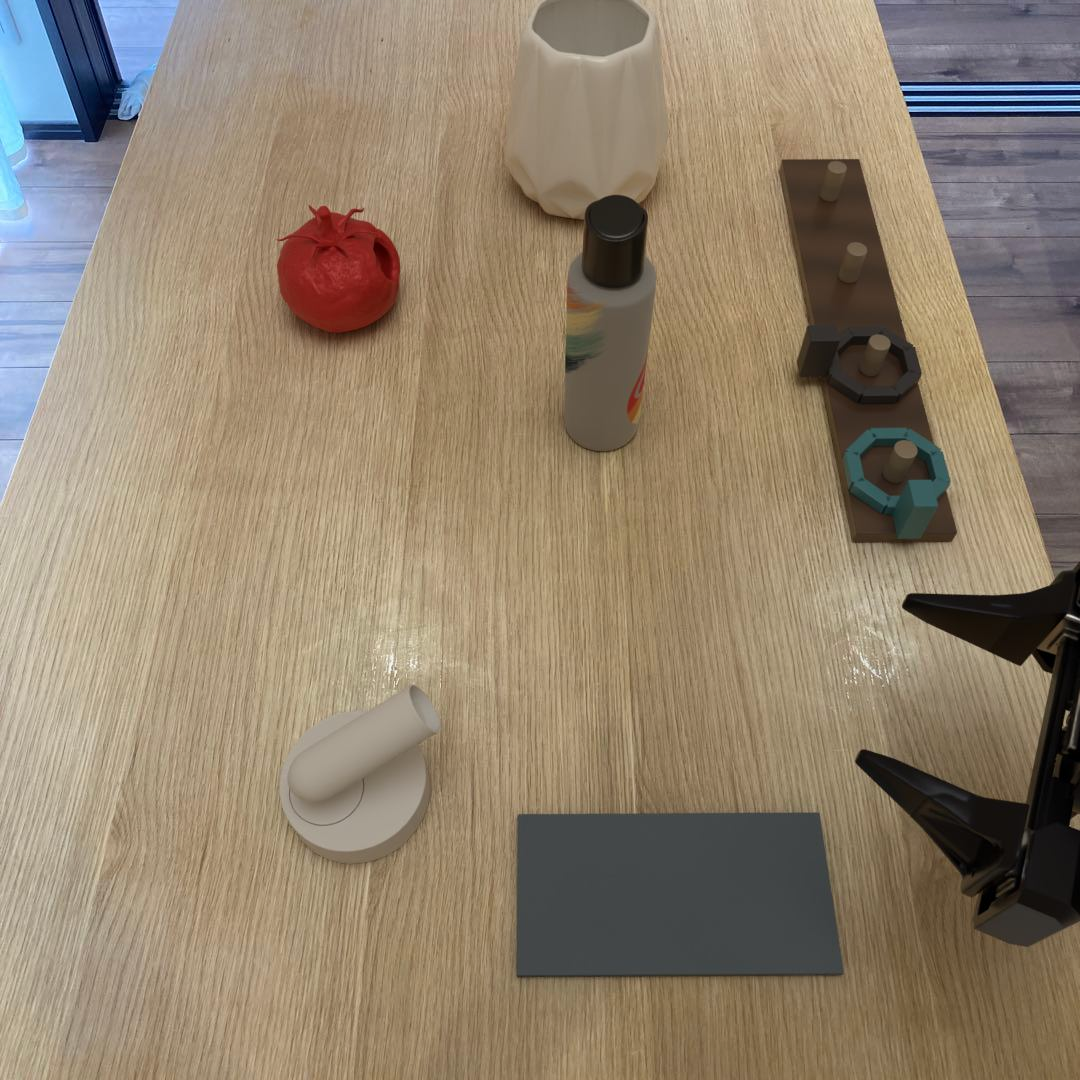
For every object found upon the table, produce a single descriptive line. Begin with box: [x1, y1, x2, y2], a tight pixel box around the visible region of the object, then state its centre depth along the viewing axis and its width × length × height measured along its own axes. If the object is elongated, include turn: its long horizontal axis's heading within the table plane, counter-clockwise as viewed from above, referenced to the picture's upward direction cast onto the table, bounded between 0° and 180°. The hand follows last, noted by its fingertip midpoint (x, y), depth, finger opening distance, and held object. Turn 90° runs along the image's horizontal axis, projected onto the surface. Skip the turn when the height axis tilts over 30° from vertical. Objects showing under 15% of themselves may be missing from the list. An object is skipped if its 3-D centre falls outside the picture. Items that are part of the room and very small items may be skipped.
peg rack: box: [779, 158, 958, 543], centre depth 81 cm, size 40×7×4 cm, turn 0°
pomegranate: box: [275, 204, 401, 334], centre depth 81 cm, size 10×10×9 cm
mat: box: [516, 811, 845, 978], centre depth 59 cm, size 18×9×1 cm, turn 90°
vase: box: [504, 0, 670, 221], centre depth 87 cm, size 14×14×15 cm
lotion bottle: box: [563, 195, 657, 452], centre depth 70 cm, size 6×6×20 cm
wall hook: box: [279, 683, 442, 865], centre depth 59 cm, size 9×10×10 cm
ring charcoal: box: [796, 324, 923, 404], centre depth 78 cm, size 9×7×4 cm
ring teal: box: [842, 428, 951, 539], centre depth 72 cm, size 9×7×4 cm
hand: (882, 674), depth 51 cm, fingers open, 9 cm apart
